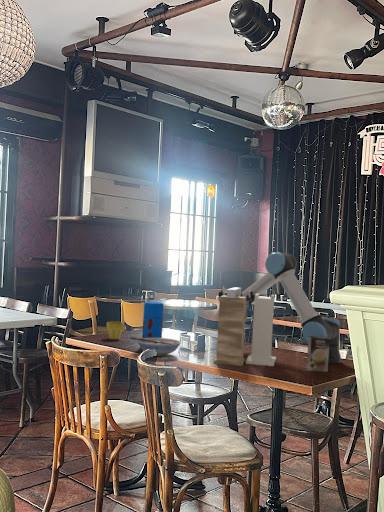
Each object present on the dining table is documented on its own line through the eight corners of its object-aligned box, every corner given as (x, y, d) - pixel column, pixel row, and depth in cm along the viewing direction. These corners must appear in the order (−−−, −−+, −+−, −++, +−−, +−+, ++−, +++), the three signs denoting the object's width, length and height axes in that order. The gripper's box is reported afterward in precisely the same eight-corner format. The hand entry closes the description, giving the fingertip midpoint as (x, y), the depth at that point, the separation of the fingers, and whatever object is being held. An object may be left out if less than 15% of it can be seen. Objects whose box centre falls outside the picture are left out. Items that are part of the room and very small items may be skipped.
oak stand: (218, 358, 293) (221, 295, 294) (244, 361, 291) (248, 296, 291) (213, 363, 280) (217, 296, 280) (242, 365, 277) (245, 298, 277)
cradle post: (249, 357, 303) (253, 292, 303) (275, 359, 300) (279, 294, 301) (245, 363, 284) (249, 294, 284) (273, 366, 281) (277, 296, 281)
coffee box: (309, 371, 274) (311, 337, 274) (306, 368, 280) (307, 335, 280) (328, 371, 274) (329, 338, 274) (324, 369, 281) (326, 336, 281)
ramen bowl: (190, 355, 298) (190, 340, 298) (166, 361, 278) (167, 344, 278) (150, 349, 311) (151, 334, 311) (125, 354, 291) (126, 338, 291)
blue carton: (158, 349, 311) (160, 304, 311) (139, 348, 313) (141, 302, 313) (163, 347, 321) (165, 303, 322) (144, 345, 324) (147, 301, 324)
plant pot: (102, 338, 339) (103, 322, 339) (110, 336, 349) (111, 321, 349) (118, 340, 336) (119, 324, 336) (125, 338, 346) (126, 322, 346)
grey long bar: (233, 294, 302) (234, 287, 302) (241, 295, 302) (241, 287, 302) (226, 297, 275) (227, 289, 275) (234, 298, 274) (235, 289, 274)
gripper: (261, 314, 309) (259, 296, 291) (215, 311, 314) (211, 293, 296) (262, 302, 313) (260, 284, 295) (217, 299, 318) (213, 280, 300)
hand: (236, 288), depth 295 cm, fingers open, 13 cm apart
